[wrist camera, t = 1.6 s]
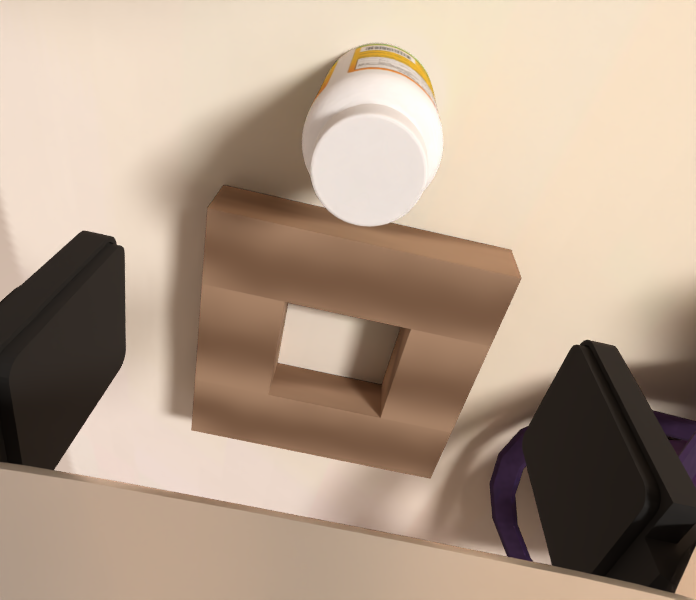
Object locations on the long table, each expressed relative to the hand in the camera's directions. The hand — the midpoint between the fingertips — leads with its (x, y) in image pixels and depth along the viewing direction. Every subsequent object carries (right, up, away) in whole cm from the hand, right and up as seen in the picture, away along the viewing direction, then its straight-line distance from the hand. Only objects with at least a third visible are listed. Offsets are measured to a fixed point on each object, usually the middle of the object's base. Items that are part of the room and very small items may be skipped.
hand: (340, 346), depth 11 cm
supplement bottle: (+2, +11, +15) cm, 19 cm away
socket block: (0, -1, +23) cm, 23 cm away
